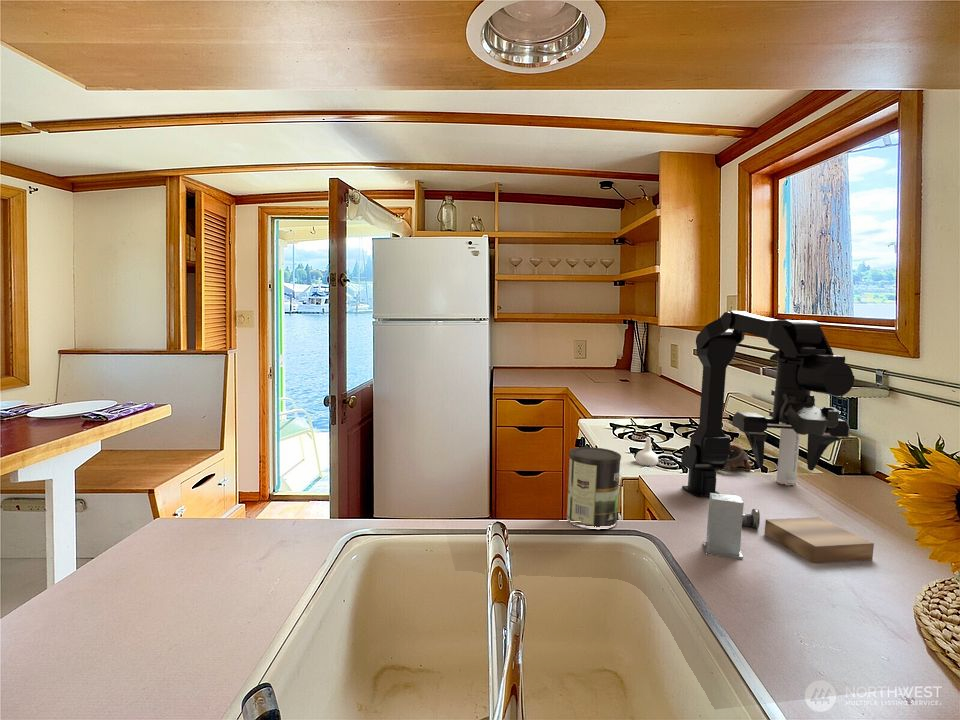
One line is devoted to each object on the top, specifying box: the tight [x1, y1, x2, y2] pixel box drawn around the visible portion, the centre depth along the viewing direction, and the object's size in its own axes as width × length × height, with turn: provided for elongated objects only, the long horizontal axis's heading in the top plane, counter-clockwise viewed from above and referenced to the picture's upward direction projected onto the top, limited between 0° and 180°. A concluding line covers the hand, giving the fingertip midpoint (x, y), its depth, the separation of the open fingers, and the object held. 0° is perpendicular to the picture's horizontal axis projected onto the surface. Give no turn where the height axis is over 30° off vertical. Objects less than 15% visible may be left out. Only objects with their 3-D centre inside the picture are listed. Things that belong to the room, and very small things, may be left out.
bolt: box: [742, 508, 761, 529], centre depth 105 cm, size 6×4×4 cm, turn 70°
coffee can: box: [566, 446, 622, 527], centre depth 105 cm, size 10×10×14 cm
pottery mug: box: [724, 443, 752, 472], centre depth 146 cm, size 12×10×8 cm
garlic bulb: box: [634, 436, 659, 467], centre depth 149 cm, size 6×6×8 cm
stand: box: [763, 516, 875, 564], centre depth 96 cm, size 12×12×3 cm
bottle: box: [776, 428, 801, 486], centre depth 134 cm, size 4×4×20 cm
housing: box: [702, 493, 744, 560], centre depth 92 cm, size 4×6×10 cm
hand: (785, 468), depth 97 cm, fingers open, 9 cm apart
